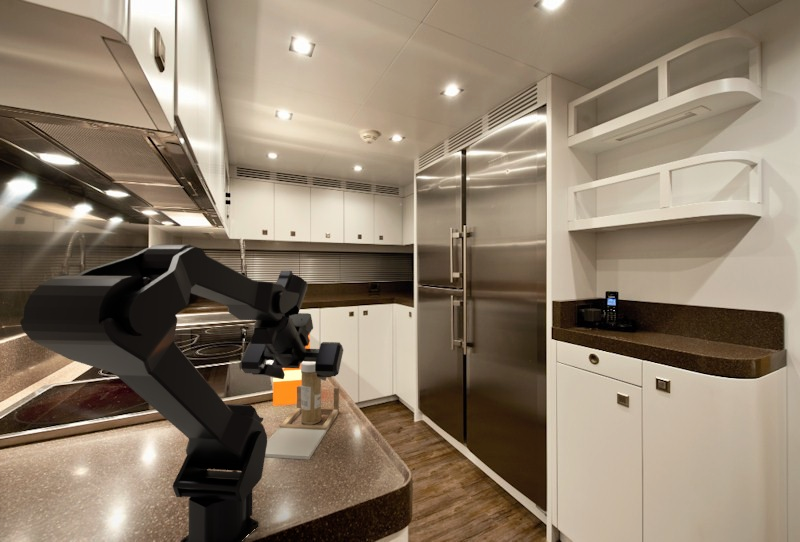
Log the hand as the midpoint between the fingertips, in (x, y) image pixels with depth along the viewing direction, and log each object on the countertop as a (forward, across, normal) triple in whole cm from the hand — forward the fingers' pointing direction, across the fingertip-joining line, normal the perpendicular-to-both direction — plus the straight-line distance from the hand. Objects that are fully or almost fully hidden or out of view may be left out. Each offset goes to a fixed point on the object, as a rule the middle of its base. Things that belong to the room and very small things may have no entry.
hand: (304, 377), depth 69 cm
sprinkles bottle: (+11, 0, +5) cm, 12 cm away
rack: (+11, 0, +5) cm, 12 cm away
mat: (+4, 0, +12) cm, 12 cm away
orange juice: (+19, +10, -3) cm, 22 cm away
